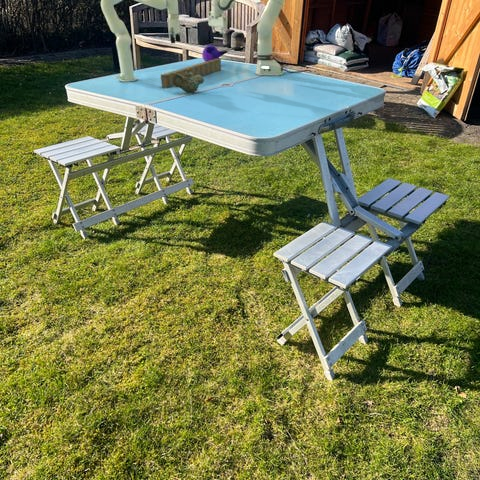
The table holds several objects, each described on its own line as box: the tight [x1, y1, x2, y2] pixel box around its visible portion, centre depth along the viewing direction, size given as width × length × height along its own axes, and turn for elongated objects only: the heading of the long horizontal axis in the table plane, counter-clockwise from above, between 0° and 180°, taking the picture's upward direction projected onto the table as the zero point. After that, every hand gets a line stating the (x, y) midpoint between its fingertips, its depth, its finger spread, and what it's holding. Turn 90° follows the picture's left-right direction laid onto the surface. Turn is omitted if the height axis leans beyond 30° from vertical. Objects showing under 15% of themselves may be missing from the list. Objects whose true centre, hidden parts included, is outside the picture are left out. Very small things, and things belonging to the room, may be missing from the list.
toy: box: [202, 44, 229, 62], centre depth 392 cm, size 16×18×27 cm
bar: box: [160, 58, 222, 89], centre depth 345 cm, size 77×5×8 cm, turn 152°
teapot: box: [173, 69, 205, 94], centre depth 298 cm, size 21×12×15 cm, turn 109°
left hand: (175, 42), depth 332 cm, fingers open, 9 cm apart
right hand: (217, 33), depth 356 cm, fingers open, 8 cm apart
